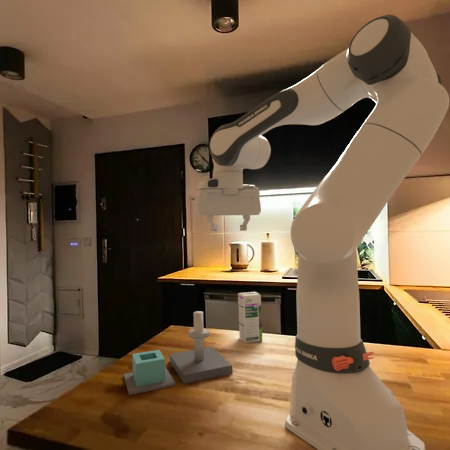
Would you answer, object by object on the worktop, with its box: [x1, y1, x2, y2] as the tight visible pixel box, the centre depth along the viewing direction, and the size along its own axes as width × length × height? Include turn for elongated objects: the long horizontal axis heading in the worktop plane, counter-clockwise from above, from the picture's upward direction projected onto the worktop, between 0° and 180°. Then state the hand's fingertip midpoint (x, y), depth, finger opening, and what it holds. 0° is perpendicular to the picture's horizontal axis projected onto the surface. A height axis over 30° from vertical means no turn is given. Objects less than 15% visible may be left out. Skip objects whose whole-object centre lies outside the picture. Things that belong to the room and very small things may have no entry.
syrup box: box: [237, 291, 263, 344], centre depth 103 cm, size 6×6×14 cm
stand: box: [169, 310, 233, 385], centre depth 83 cm, size 14×12×14 cm
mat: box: [123, 365, 176, 396], centre depth 77 cm, size 10×10×1 cm
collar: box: [132, 349, 166, 387], centre depth 77 cm, size 6×6×5 cm
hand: (228, 231), depth 97 cm, fingers open, 8 cm apart
